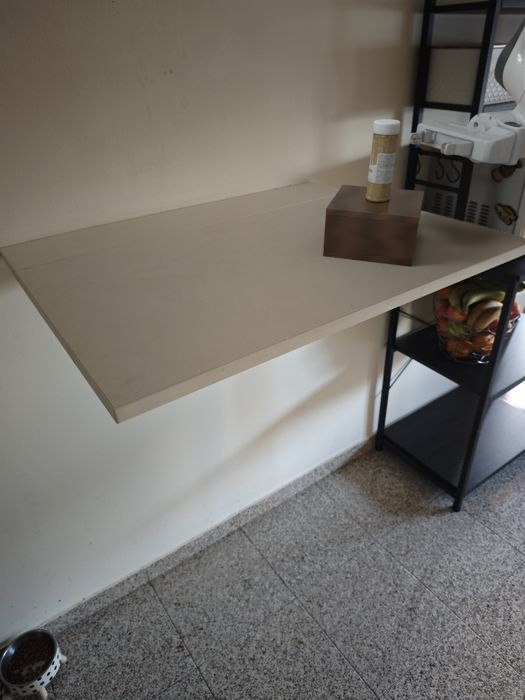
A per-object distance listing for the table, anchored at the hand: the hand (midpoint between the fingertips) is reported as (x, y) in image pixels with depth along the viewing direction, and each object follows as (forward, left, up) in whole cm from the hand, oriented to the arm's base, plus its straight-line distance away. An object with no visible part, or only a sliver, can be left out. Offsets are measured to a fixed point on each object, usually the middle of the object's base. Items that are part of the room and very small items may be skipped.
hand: (426, 143), depth 90 cm
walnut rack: (+7, +6, -18) cm, 20 cm away
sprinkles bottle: (+7, +6, -9) cm, 13 cm away
